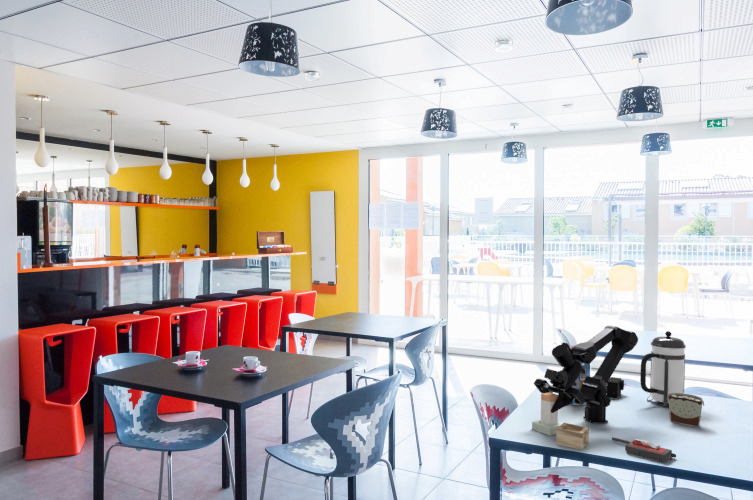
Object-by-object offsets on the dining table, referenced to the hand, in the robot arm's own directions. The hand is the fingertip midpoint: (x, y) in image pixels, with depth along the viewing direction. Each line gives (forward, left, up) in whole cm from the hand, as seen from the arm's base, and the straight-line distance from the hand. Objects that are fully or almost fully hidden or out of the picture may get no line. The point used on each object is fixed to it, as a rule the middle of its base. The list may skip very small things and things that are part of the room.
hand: (546, 410), depth 196 cm
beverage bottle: (-29, -33, -7) cm, 44 cm away
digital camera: (-53, -42, -7) cm, 68 cm away
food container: (-57, -4, -7) cm, 58 cm away
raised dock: (-3, +13, -7) cm, 15 cm away
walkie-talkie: (-20, +22, -8) cm, 31 cm away
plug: (-1, -1, -6) cm, 6 cm away
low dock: (-1, -1, -7) cm, 7 cm away
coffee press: (-66, -28, -7) cm, 72 cm away
